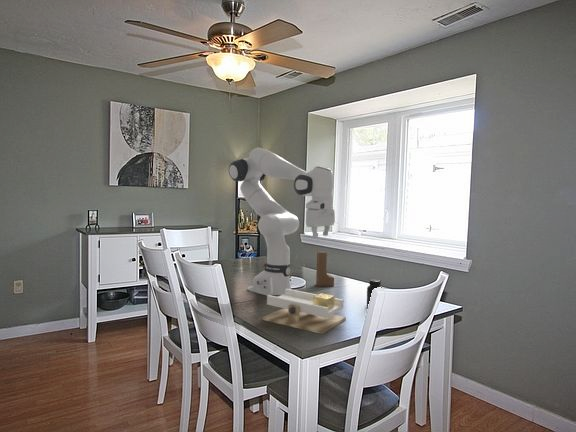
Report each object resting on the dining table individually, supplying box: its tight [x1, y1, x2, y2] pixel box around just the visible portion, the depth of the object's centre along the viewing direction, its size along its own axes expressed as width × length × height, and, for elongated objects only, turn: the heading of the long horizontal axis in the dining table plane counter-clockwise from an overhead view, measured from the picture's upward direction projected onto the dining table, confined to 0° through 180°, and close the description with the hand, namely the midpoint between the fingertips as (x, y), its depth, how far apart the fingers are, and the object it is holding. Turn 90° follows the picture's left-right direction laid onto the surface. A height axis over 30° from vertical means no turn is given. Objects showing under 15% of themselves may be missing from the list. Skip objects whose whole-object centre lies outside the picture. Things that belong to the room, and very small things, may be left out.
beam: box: [266, 288, 344, 318], centre depth 155 cm, size 26×14×4 cm, turn 58°
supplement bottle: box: [366, 278, 383, 308], centre depth 175 cm, size 7×7×12 cm
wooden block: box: [315, 250, 335, 287], centre depth 214 cm, size 9×4×18 cm, turn 97°
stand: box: [261, 304, 347, 335], centre depth 155 cm, size 26×20×8 cm
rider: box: [313, 293, 336, 309], centre depth 151 cm, size 6×6×4 cm
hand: (320, 236), depth 172 cm, fingers open, 8 cm apart
